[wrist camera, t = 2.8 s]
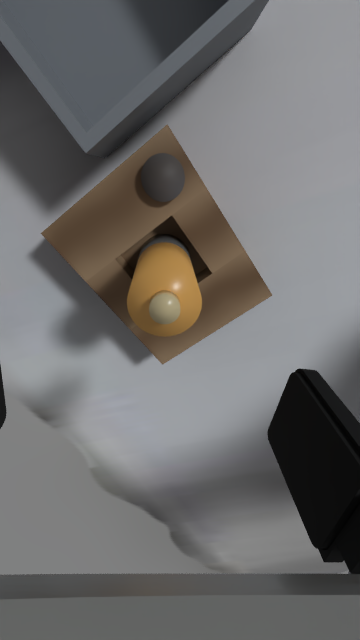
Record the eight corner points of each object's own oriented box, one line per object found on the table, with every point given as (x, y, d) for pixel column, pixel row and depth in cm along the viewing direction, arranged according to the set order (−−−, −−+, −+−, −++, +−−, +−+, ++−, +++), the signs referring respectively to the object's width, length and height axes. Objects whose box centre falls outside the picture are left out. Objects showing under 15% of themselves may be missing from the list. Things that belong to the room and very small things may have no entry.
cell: (199, 264, 24) (219, 317, 15) (159, 292, 25) (157, 356, 16) (169, 223, 22) (173, 255, 14) (128, 254, 23) (107, 303, 15)
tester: (259, 280, 26) (274, 298, 23) (162, 343, 29) (162, 368, 25) (166, 131, 21) (167, 122, 17) (57, 225, 23) (37, 235, 20)
